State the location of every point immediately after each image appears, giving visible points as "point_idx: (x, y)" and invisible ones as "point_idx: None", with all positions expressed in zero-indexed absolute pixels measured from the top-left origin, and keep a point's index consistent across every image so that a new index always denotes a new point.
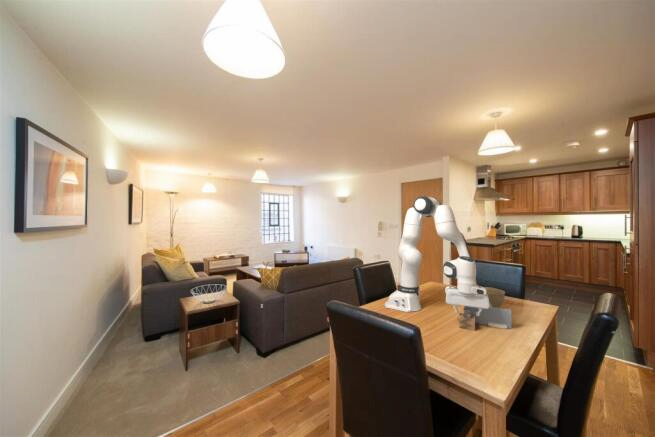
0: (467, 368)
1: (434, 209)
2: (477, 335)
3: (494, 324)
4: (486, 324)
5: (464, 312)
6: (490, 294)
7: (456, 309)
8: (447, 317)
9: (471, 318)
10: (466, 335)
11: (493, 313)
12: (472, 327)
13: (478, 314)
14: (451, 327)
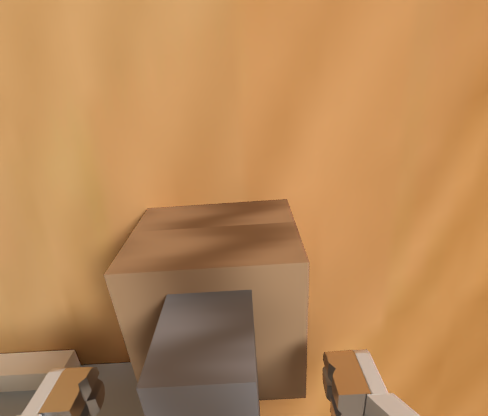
0: None
1: None
2: (103, 97)
3: (19, 369)
4: (92, 365)
5: (240, 355)
6: None
7: (375, 403)
8: (381, 365)
9: (153, 302)
10: (205, 27)
11: None
12: (162, 220)
13: (46, 390)
14: (362, 175)
